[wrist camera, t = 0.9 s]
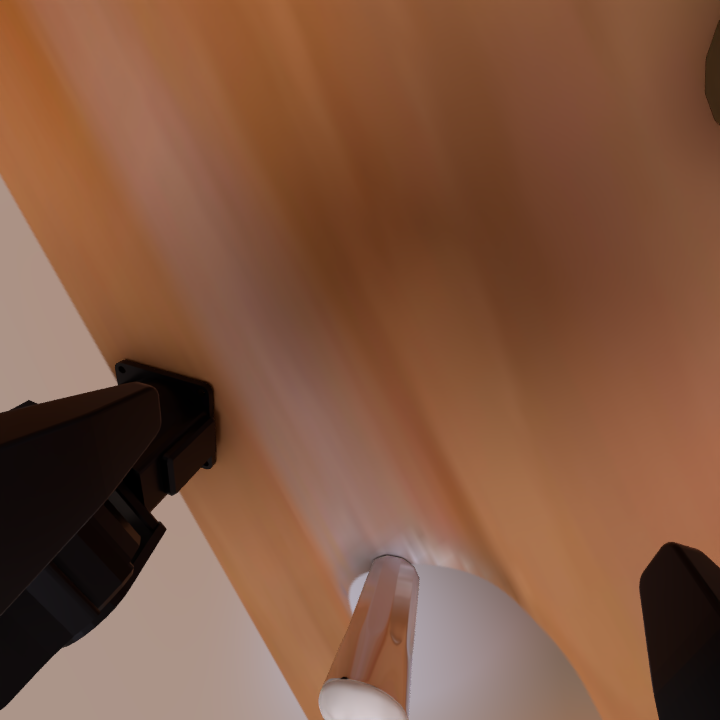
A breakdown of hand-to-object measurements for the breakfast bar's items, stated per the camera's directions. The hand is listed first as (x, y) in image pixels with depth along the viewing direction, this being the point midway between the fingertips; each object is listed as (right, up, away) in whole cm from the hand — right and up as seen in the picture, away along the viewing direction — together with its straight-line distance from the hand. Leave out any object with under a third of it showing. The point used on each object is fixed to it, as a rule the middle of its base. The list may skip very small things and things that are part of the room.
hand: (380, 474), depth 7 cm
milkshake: (+2, -12, +21) cm, 24 cm away
